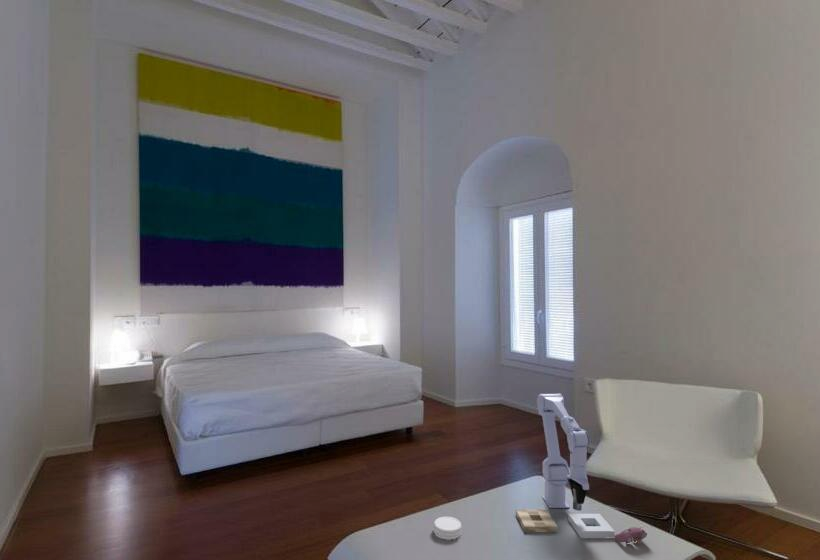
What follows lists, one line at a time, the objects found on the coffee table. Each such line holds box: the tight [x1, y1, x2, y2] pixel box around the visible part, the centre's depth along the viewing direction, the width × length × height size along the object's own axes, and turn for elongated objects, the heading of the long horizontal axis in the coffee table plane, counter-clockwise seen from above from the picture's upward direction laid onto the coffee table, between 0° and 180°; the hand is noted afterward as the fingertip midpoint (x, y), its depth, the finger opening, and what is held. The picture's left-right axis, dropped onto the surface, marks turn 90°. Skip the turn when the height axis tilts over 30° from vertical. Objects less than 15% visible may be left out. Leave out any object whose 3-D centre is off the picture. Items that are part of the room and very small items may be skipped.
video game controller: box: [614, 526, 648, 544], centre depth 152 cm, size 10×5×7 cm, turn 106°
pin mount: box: [515, 509, 559, 533], centre depth 164 cm, size 12×12×2 cm
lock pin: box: [572, 488, 583, 511], centre depth 162 cm, size 4×4×7 cm
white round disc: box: [433, 516, 462, 541], centre depth 158 cm, size 10×10×4 cm
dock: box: [567, 513, 616, 539], centre depth 161 cm, size 12×12×2 cm
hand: (578, 500), depth 162 cm, fingers closed on lock pin, 3 cm apart
